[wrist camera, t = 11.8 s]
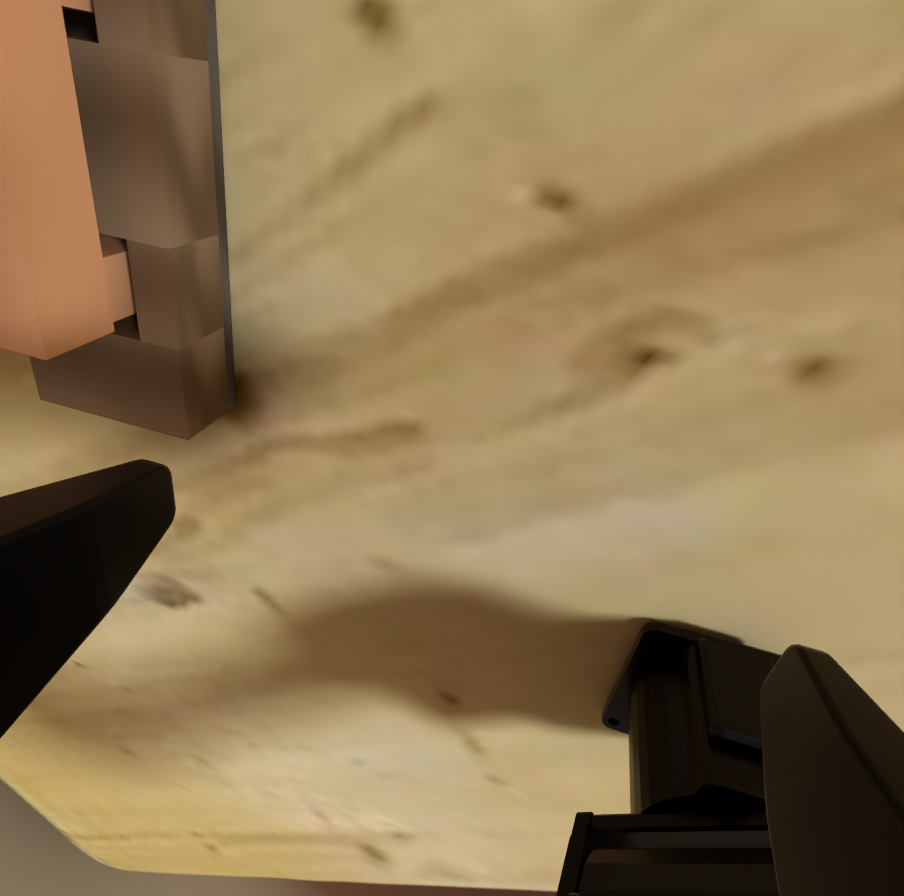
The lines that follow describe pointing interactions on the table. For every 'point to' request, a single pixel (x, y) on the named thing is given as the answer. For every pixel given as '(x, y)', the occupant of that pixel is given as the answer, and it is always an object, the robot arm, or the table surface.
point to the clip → (50, 196)
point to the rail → (153, 216)
